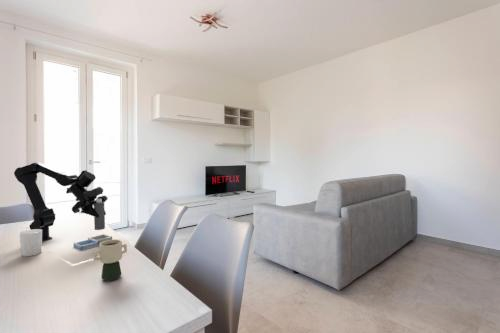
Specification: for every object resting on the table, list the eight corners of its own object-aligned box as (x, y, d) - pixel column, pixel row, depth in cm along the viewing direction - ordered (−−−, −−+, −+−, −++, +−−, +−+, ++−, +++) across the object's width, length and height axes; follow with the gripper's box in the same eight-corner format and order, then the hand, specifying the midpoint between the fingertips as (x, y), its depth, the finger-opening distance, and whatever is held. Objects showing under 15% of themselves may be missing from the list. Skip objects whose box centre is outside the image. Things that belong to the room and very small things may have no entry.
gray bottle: (92, 229, 132) (92, 199, 131) (102, 226, 135) (101, 198, 135) (97, 230, 129) (96, 200, 128) (106, 228, 133) (105, 198, 132)
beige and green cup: (123, 270, 100) (123, 236, 100) (131, 276, 95) (130, 241, 95) (91, 280, 92) (90, 243, 92) (97, 287, 87) (96, 249, 87)
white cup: (30, 257, 113) (29, 234, 112) (15, 256, 114) (14, 233, 114) (47, 251, 120) (46, 229, 120) (33, 249, 122) (32, 228, 122)
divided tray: (71, 247, 125) (70, 242, 125) (104, 238, 138) (104, 233, 138) (81, 251, 119) (81, 246, 119) (115, 242, 132) (114, 237, 132)
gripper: (76, 184, 122) (98, 208, 121) (104, 180, 141) (123, 201, 140) (62, 201, 124) (83, 225, 123) (91, 194, 142) (110, 215, 141)
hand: (101, 215), depth 132 cm, fingers closed on gray bottle, 4 cm apart
